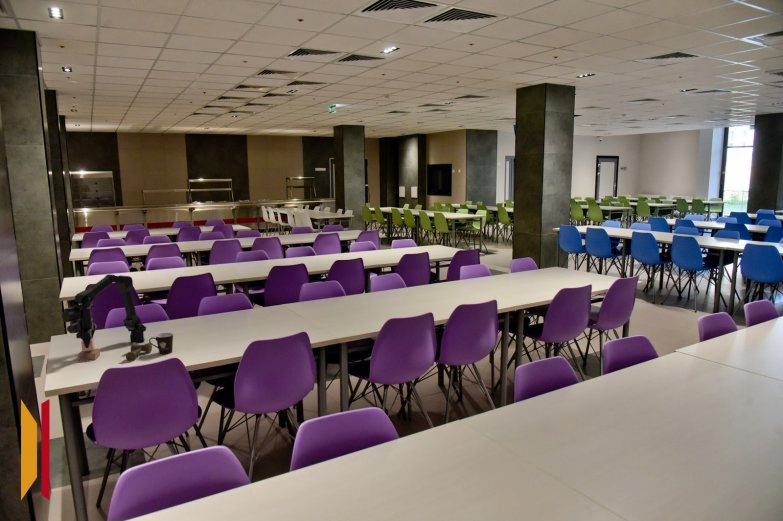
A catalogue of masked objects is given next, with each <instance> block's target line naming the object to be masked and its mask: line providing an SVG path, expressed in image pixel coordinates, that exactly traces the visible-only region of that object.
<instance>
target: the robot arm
mask: <svg viewBox="0 0 783 521" xmlns="http://www.w3.org/2000/svg"><path fill="white" fill-rule="evenodd" d="M113 283H114V284H116V287H117V288H118V290H119V291H120V292H121V295H122V300H123V306H124V311H125V315H126V317H125V318H123V326H124V327H125V329H127V331H128V332H130V335H129V340H130V343H131V344H132V343H133V342H135V343H137V344H139V343H144V342H145V335H144V334H145V332H146V330H147V326H145V324H143V323H142V320H141V318H140V317H139V315H138V314H137V311H136V306H135V302H134V298H133V292H132V289H133V285H134V284H133V283H134V282H133V277H132V276H129V275H122V274H121V275H115V274H106V275H105V276H104V277H103V278H102V279H101V280H99V281H97V282H96V283H94V285H92V286H91V287H90V288H88V289H86V290H82V291H80V292H78V293H76V295H75V296H74V299H73V302H72V303H71V305H70V307H67V308H64V311H63V312H62V314H61V318H62V320H63V321H64V322H65V323H69V322H73V321H77V322H75V323H71V324H70V325H68V326H67V327H66V332H68V333H69V334H71V333H74V332H75V331H77V333H76V335H75V336H76V337H75V338H76V339H81V341H82V340H83V342H84V345H85V347H86V348H88V347H89V344H90V341H91V338H94V335H95V332H96V329H97V324H96V323H95V322H93V320H94V319H93V317H92V310H91V309H92V308H95V307H96V305H94V304H92V303H93V302H94V300H95V298H96V296H98V294H100V293H101V292H102V291H104V290H105V289H106V288H108V287H109V286H110V285H111V284H113Z"/></svg>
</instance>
